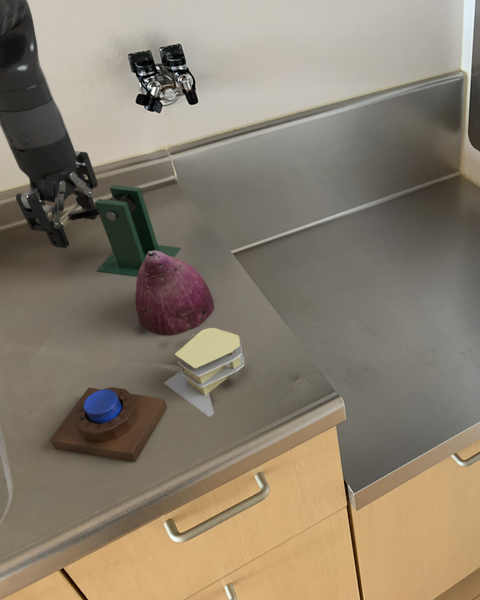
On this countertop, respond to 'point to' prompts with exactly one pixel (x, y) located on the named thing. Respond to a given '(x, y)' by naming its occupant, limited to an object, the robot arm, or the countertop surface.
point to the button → (102, 406)
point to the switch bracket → (128, 233)
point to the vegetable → (171, 295)
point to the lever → (93, 210)
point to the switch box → (111, 427)
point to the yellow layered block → (206, 366)
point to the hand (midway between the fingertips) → (76, 231)
